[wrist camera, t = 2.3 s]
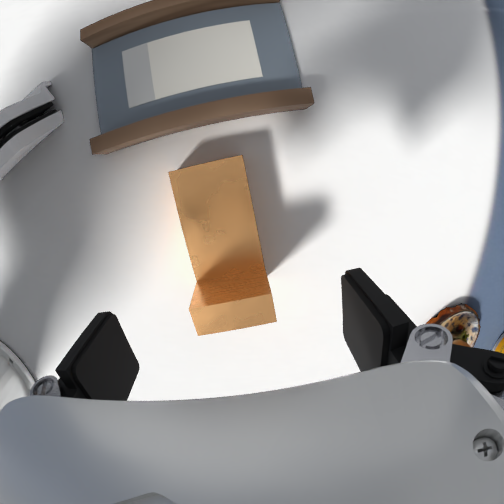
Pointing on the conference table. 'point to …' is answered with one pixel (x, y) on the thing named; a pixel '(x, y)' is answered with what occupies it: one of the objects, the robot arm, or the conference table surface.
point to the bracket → (222, 246)
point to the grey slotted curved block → (26, 126)
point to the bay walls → (161, 10)
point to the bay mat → (193, 63)
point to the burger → (459, 324)
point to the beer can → (499, 344)
